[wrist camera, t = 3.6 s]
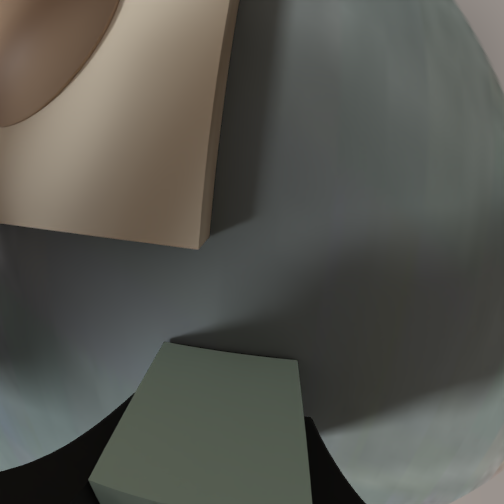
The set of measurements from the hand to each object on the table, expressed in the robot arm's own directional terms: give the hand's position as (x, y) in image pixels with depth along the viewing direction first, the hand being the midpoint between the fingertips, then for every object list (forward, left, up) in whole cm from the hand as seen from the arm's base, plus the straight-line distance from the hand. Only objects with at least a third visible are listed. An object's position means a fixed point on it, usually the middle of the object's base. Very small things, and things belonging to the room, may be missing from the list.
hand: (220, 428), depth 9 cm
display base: (-8, +13, -2) cm, 15 cm away
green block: (0, 0, -1) cm, 1 cm away
